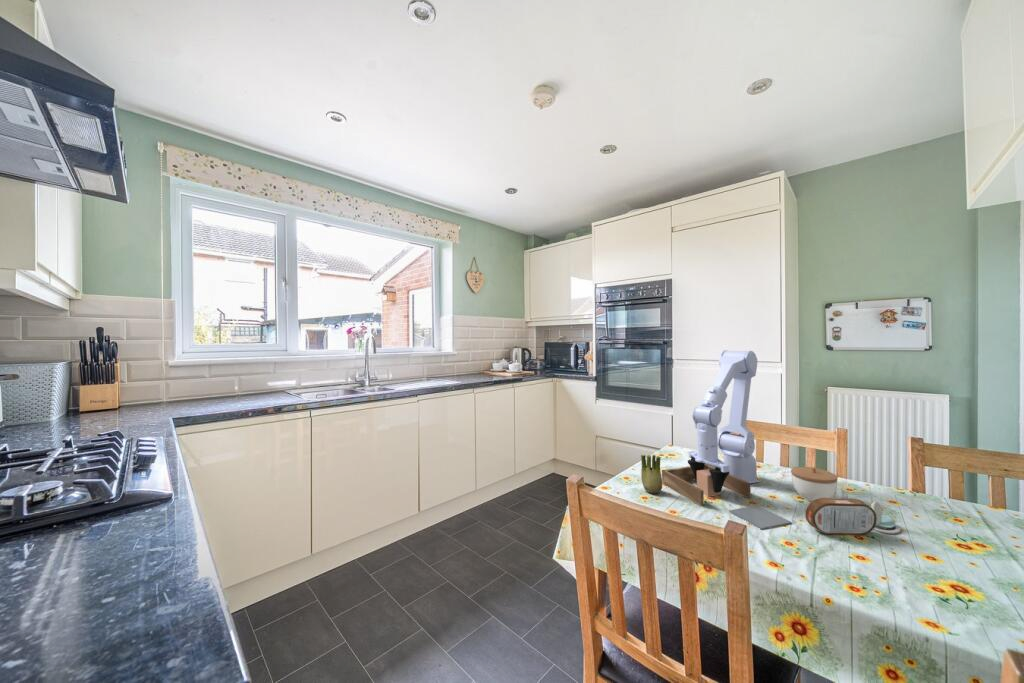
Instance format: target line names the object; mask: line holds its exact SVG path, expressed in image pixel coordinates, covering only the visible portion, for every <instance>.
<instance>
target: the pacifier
mask: <svg viewBox="0 0 1024 683" xmlns="http://www.w3.org/2000/svg"><path fill="white" fill-rule="evenodd" d="M870 507H871V508H872V509H873V510H874V511H875V513H876V517H877V521H876V525H875V528H874V530H876V531H878V532H880V533H883V534H889V535H892V534H899V533H901V528H900V527H899V526H898V525H896V521H895V520H894V518H892V517H891V516H890V515H887V514H884V513H883V506H882V505H881V503H880V502H879V501H874V502H871V504H870ZM891 528H893V529H891ZM884 529H885V530H884ZM890 529H891V530H890Z"/></svg>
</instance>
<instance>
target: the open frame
mask: <svg viewBox="0 0 1024 683" xmlns="http://www.w3.org/2000/svg"><path fill="white" fill-rule="evenodd" d="M705 469H710V470H711V469H715V468H714V467H712V466H710V465H708V464H705V466H704V470H705ZM661 477H662V483H663V484H662V485H664V484H665V485H664V486H666V487H667V486H668V488H669V487H670V488H669V489H670V490H672V491H674V492H676V493H677V494H679V495H681V496H683V497H684V498H686V499H688V500H689V501H691V502H693V503H694V504H696V505H698V506H699V507H704V503H705V500H704V499H705V498H704V496H705V495H704V491H703V490H701V489H700V488H698V487H697V485H694V484H693V483H690V482H691V481H695V478H694V474H693V471H692V469H691V467H690V465H689V466H681V467H676V468H668V469H663V470H661ZM723 488H726V489H728V490H730V491H732V492H734V493H737V494H738V495H740V496H742V497H744V498H745V499H751V497H752V496H751V490H752V489H751V483H749V482H747V481H744V480H742V479H740V478H737V477H735V476H733V475H731V474H728V476H727V477H726V479H725V481H724V484H723Z"/></svg>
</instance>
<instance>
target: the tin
mask: <svg viewBox="0 0 1024 683" xmlns="http://www.w3.org/2000/svg"><path fill="white" fill-rule="evenodd" d="M804 512H805V514H804V515H805V518H806V522H808V524H809V525H810V526H811V527H812V528H814V529H815V530H817V531H818V532H820V533H821V534H824V535H834V536H835V535H839V536H840V535H841V536H842V535H843V536H865V535H868V534H869V533H871V532H872V531H873V530H875V525H876V521H877V517H876V513H875V511H874V510H873V509H872V508H871V505H870V506H869V505H868V504H867V503H865V502H864V501H862V500H861V499H857V498H843V497H842V498H841V497H840V498H839V497H838V498H837V497H835V498H834V497H833V498H818V499H815V500H814V501H812V502H811V501H810V503H808V505H807V506H806V508H805V511H804Z"/></svg>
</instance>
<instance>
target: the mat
mask: <svg viewBox="0 0 1024 683" xmlns="http://www.w3.org/2000/svg"><path fill="white" fill-rule="evenodd" d="M728 513H730V514H732V515H734V516H736V517H738V518H740V519H741V520H743V519H744V520H743V521H745V520H746V521H745V522H747V521H748V522H749V523H748V522H747V523H748V524H750V523H751V524H750V525H752V524H753V525H752V526H754V527H755V528H757V527H758V528H757V529H759V528H760V529H759V530H761V529H762V530H765V528H767V529H771V528H770V527H772V528H775V527H774V526H777V527H781V526H780V525H782V526H786V524H787V525H792V524H793V523H792V521H790V520H788V519H786V518H785V517H783V516H780V515H779V514H777V513H774V512H772V511H770V510H768V509H766V508H765V507H762V506H760V505H751V506H746V507H740V508H735V509H729V510H728ZM791 523H792V524H791Z"/></svg>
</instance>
